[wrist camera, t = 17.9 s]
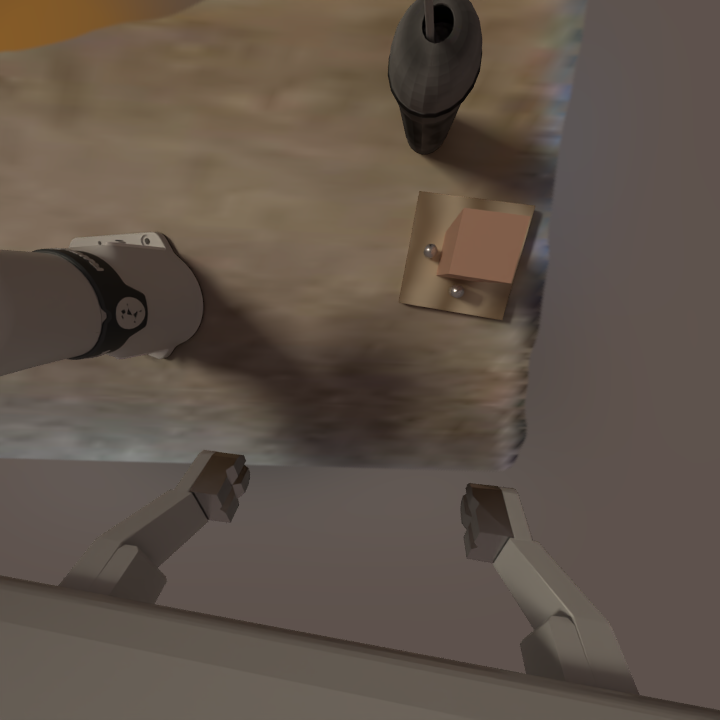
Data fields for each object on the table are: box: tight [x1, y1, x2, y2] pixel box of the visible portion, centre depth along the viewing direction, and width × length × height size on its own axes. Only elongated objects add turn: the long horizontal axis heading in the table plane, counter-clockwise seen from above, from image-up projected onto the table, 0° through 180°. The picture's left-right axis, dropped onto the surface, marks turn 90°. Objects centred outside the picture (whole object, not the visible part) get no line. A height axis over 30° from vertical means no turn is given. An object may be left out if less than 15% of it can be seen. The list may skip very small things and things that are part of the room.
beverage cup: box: [388, 0, 482, 154], centre depth 25 cm, size 7×7×20 cm
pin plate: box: [399, 191, 535, 320], centre depth 35 cm, size 13×13×4 cm
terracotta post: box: [436, 208, 531, 283], centre depth 30 cm, size 5×5×13 cm
